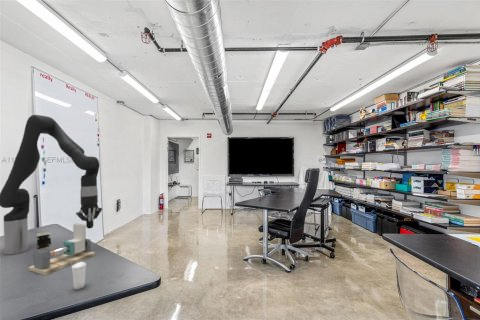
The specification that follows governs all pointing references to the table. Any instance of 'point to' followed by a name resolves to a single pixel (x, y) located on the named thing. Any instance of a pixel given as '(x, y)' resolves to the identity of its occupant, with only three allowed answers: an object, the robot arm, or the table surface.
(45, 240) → the pneumatic valve
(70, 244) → the thin teal tile
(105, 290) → the table surface
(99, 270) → the table surface
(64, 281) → the table surface
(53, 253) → the pipe stand
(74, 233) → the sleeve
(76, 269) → the milkshake
